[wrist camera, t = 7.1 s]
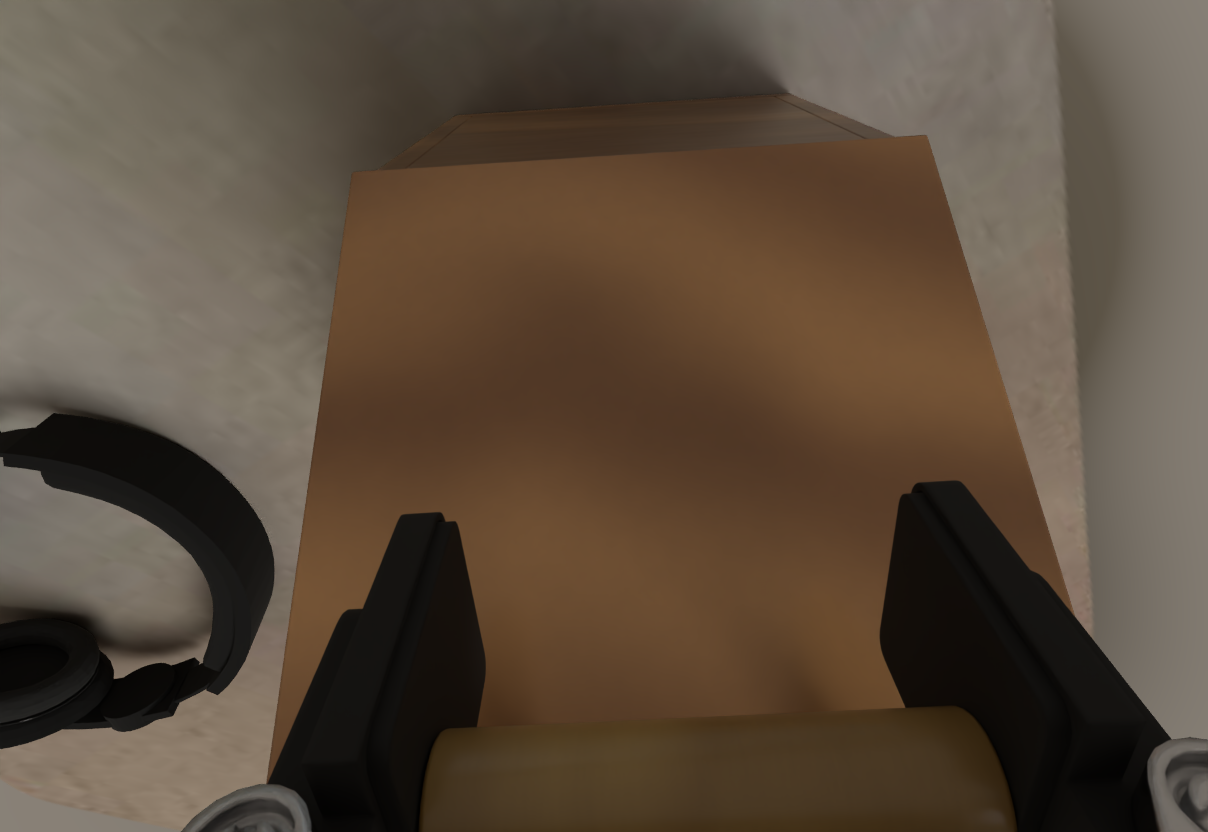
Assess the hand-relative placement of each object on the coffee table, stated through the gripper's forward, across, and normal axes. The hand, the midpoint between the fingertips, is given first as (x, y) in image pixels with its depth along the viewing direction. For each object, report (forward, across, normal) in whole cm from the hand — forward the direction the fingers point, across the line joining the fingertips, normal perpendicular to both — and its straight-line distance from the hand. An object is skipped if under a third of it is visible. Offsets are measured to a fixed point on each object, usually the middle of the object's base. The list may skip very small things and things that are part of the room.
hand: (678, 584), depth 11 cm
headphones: (+24, +30, +17) cm, 42 cm away
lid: (+4, 0, +1) cm, 4 cm away
